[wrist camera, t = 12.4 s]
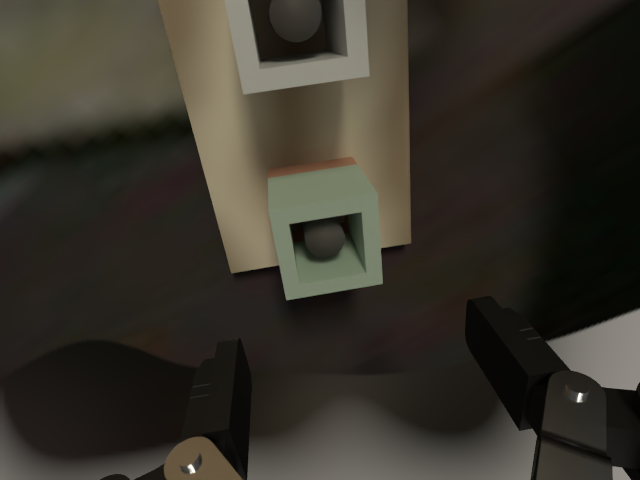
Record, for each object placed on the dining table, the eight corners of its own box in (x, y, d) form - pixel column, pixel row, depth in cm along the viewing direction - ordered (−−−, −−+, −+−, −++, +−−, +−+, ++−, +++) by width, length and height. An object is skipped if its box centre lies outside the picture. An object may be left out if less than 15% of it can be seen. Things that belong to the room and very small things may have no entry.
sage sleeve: (352, 156, 24) (377, 193, 18) (358, 231, 26) (382, 283, 21) (267, 169, 23) (268, 210, 18) (281, 244, 26) (286, 300, 20)
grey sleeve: (333, -52, 19) (360, -83, 13) (343, 64, 21) (369, 75, 16) (226, -38, 18) (211, -65, 13) (248, 77, 21) (243, 94, 16)
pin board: (398, -95, 19) (450, -144, 14) (405, 235, 28) (439, 285, 22) (145, -64, 19) (97, -102, 13) (232, 263, 27) (224, 322, 22)
